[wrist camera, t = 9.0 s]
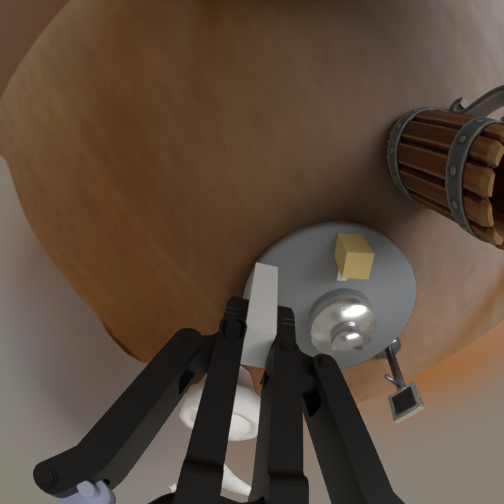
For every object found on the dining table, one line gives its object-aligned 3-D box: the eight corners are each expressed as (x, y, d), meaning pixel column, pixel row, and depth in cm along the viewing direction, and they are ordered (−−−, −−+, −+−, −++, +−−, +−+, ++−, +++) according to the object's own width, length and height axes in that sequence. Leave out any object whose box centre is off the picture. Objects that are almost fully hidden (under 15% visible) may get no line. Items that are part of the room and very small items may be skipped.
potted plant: (182, 371, 41) (137, 506, 19) (220, 337, 37) (176, 513, 14) (242, 402, 44) (222, 528, 22) (287, 376, 39) (281, 530, 17)
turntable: (244, 214, 26) (235, 239, 21) (429, 229, 25) (456, 254, 20) (243, 356, 35) (237, 391, 30) (382, 359, 34) (391, 391, 29)
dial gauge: (403, 344, 35) (428, 410, 23) (382, 358, 36) (401, 425, 25) (382, 322, 33) (409, 396, 22) (360, 339, 35) (378, 413, 23)
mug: (429, 219, 26) (508, 291, 13) (364, 164, 25) (442, 211, 11) (487, 120, 20) (579, 141, 6) (429, 57, 18) (522, 34, 5)
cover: (314, 286, 27) (320, 317, 23) (377, 289, 27) (392, 319, 22) (304, 336, 30) (306, 368, 26) (360, 337, 30) (369, 368, 25)
